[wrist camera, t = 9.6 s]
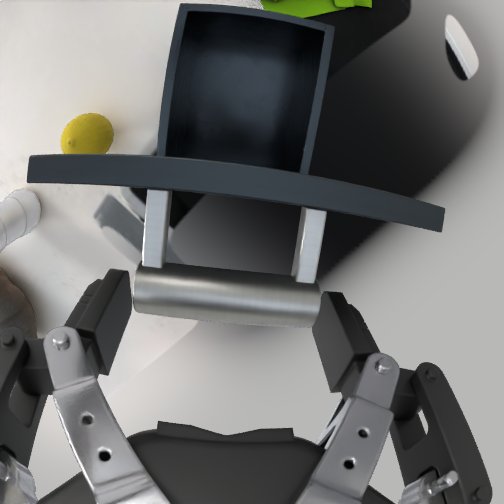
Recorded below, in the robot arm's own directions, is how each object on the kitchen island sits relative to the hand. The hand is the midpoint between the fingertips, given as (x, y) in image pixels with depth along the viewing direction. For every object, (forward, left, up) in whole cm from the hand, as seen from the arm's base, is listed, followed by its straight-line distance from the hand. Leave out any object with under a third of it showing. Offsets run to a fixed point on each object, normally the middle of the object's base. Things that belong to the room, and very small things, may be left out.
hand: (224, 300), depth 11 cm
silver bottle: (+6, -29, -24) cm, 38 cm away
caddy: (-9, 0, -24) cm, 25 cm away
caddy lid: (-3, 0, -6) cm, 7 cm away
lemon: (-4, -16, -24) cm, 29 cm away
